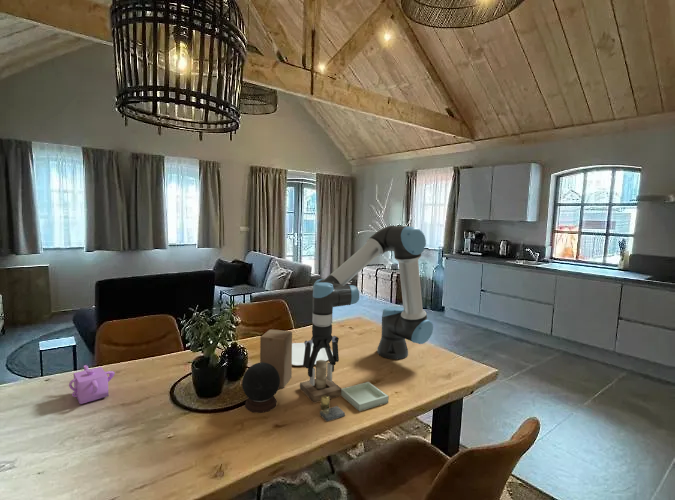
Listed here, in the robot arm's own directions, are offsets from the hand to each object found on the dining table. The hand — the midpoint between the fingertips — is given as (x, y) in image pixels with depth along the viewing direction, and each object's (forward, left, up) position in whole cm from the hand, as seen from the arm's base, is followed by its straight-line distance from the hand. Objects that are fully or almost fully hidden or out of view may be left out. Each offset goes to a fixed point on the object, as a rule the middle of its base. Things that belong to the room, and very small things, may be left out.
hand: (320, 382), depth 138 cm
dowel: (0, 0, -4) cm, 4 cm away
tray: (-12, +12, -4) cm, 17 cm away
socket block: (0, 0, -4) cm, 4 cm away
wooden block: (+12, -16, -4) cm, 20 cm away
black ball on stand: (+23, -2, -4) cm, 23 cm away
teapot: (+75, -36, -4) cm, 83 cm away
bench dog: (+4, +11, -4) cm, 12 cm away
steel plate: (+4, +16, -4) cm, 17 cm away
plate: (-10, -36, -5) cm, 38 cm away
